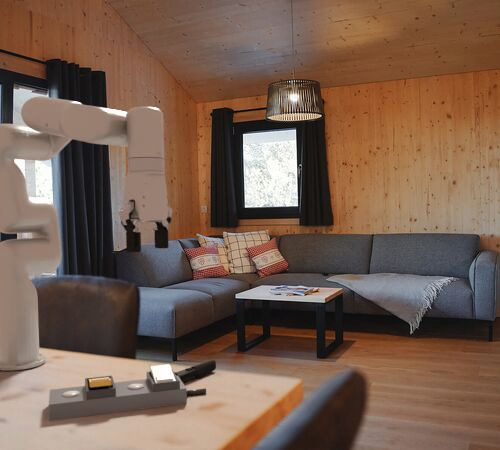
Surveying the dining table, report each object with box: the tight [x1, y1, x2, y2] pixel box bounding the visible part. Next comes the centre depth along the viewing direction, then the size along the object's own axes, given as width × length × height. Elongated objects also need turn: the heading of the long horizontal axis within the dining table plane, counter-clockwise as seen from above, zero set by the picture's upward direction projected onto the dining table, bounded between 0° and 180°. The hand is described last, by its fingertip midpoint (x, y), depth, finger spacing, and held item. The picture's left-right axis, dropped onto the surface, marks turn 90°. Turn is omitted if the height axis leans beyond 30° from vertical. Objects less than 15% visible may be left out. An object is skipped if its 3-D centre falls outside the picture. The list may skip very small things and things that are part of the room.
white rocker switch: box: [149, 363, 176, 383], centre depth 116 cm, size 7×4×1 cm, turn 18°
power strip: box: [48, 368, 207, 421], centre depth 114 cm, size 9×31×5 cm, turn 108°
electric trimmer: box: [173, 359, 217, 384], centre depth 129 cm, size 4×16×3 cm, turn 142°
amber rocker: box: [89, 377, 112, 388], centre depth 112 cm, size 7×4×1 cm, turn 18°
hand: (148, 250), depth 118 cm, fingers open, 9 cm apart
